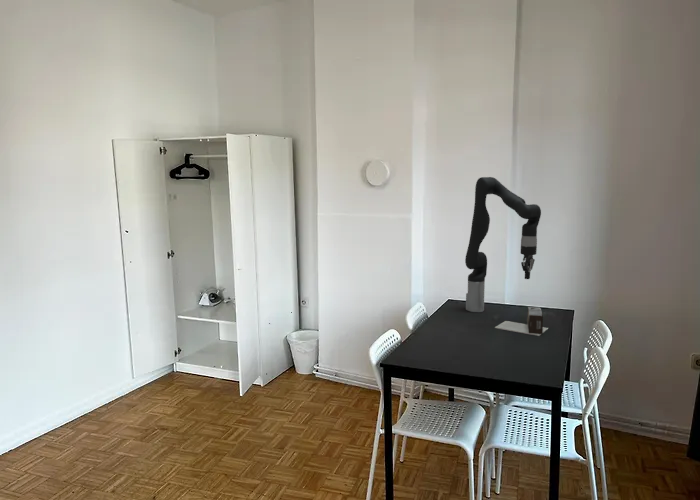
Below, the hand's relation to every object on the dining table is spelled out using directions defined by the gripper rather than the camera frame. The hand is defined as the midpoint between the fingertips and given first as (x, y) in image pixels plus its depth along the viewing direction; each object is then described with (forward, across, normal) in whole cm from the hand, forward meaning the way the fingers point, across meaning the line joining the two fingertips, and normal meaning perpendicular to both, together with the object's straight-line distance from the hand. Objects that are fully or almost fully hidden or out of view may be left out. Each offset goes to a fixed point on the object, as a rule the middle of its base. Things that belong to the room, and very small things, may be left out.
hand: (527, 278), depth 263 cm
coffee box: (+19, -4, +3) cm, 20 cm away
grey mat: (+24, +6, 0) cm, 25 cm away
